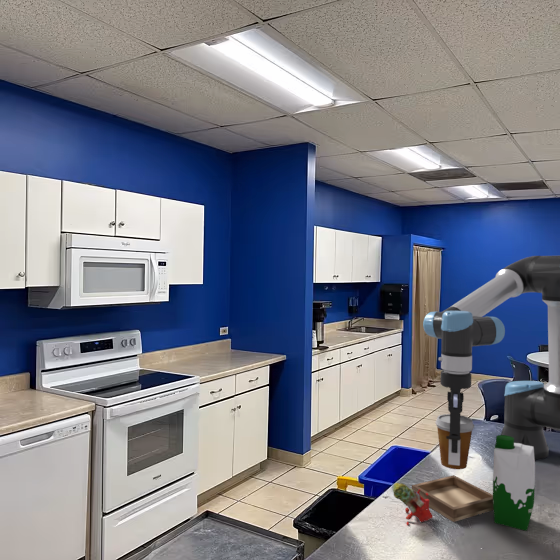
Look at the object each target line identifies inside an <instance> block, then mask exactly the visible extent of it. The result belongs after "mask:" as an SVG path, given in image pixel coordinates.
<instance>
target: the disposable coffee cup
mask: <svg viewBox="0 0 560 560" xmlns="http://www.w3.org/2000/svg"><path fill="white" fill-rule="evenodd" d="M434 423H435V424H436V425H435V426H436V427H437V437H438V448H439V454H440V455H439V456H440V463H441V465H442V467H445V468H447V469H451V470H463V469H466V468H467V466H468V460H469V453H470V446H471V440H472V434H473V430H474V428H475V425H474V422H473V419H472V418H470V417H468V416H465V415H461V414H460V437H461V439H460V466H458V465H450V464H448V458H449V439H446V436H449V435H450V413H447V414H440V415H438V416H437V418H436V420H435V422H434ZM455 435H457V434H455Z"/></svg>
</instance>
